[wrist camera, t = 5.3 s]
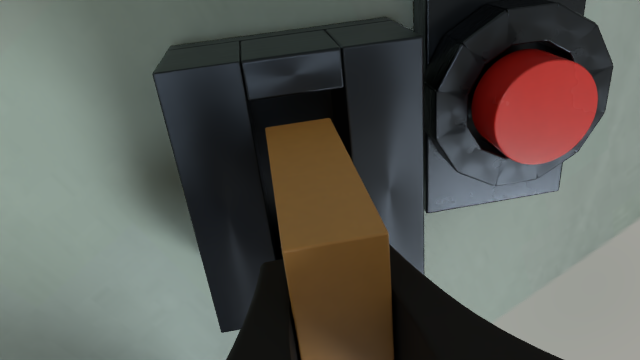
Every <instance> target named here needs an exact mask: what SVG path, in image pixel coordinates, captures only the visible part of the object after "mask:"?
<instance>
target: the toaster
mask: <svg viewBox="0 0 640 360" xmlns="http://www.w3.org/2000/svg"><path fill="white" fill-rule="evenodd" d="M153 78H154V82H155V86H156V90H157V93H158V97H159V101H160V105H161V108H162V112H163V116H164V120H165V123H166V127H167V131H168V135H169V138H170V142H171V146H172V150H173V153H174V157H175V161H176V165H177V168H178V172H179V176H180V180H181V183H182V187H183V191H184V195H185V198H186V202H187V206H188V210H189V213H190V217H191V221H192V224H193V228H194V232H195V236H196V239H197V243H198V247H199V251H200V254H201V258H202V262H203V266H204V269H205V273H206V277H207V281H208V284H209V288H210V292H211V296H212V299H213V303H214V307H215V311H216V314H217V318H218V322H219V326H220V329H221V332H222V333H223V332H229V331H234V330H239V329H241V327H242V325H243V323H244V320H245V318H246V315H247V312H248V310H249V307H250V304H251V302H252V299H253V295H254V292H255V289H256V286H257V282H258V278H259V273H260V267H261V265H262V264H263V263H264V262H269V261H275V260H281V259H283V255H282V248H281V241H280V234H279V226H278V219H277V212H276V204H275V197H274V190H273V183H272V175H271V168H270V161H269V153H268V146H267V139H266V132H265V128H266V127H273V126H279V125H286V124H292V123H299V122H306V121H312V120H319V119H325V118H330V119H331V121H332V123H333V125H334V127H335V129H336V131H337V133H338V135H339V137H340V139H341V141H342V143H343V144H344V146H345V148H346V150H347V152H348V154H349V156H350V158H351V160H352V162H353V164H354V166H355V168H356V170H357V172H358V174H359V176H360V178H361V180H362V182H363V184H364V186H365V188H366V190H367V192H368V194H369V196H370V198H371V200H372V202H373V203H374V205H375V207H376V209H377V211H378V213H379V215H380V217H381V219H382V221H383V223H384V225H385V227H386V229H387V231H388V233H389V244H390V245H391V246H392V247H393V248H394V249H395V250H396V251H398V252H399V253H400V254H401V255H402V256H403V257H404V258H405V259H406V260H407V261H408V262H409V263H411V264H412V265H413V266H414V267H415V268H416V269H417V270H419V271H420V272H421V273H422V274H423V275H424V109H423V36H421V35H419V34H417V33H415V32H414V31H412V30H410V29H408V28H406V27H404V26H402V25H400V24H398V23H396V22H394V21H392V20H391V19H389V18H387V17H384V18H376V19H369V20H362V21H354V22H347V23H339V24H332V25H324V26H317V27H309V28H302V29H295V30H287V31H280V32H272V33H265V34H257V35H250V36H243V37H235V38H228V39H220V40H213V41H205V42H198V43H190V44H183V45H176V46H171V47H170V48H169V49H168V51H167V52H166V54H165V55H164V57H163V58H162V60H161V61H160V63H159V64H158V66H157V68H156V69H155V71H154V72H153Z"/></svg>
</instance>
